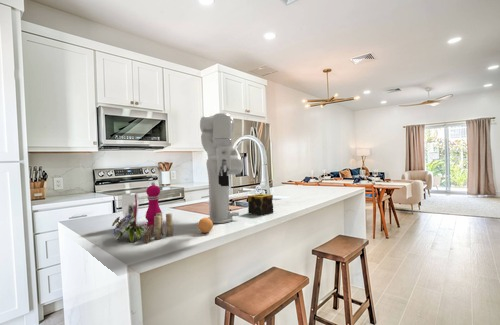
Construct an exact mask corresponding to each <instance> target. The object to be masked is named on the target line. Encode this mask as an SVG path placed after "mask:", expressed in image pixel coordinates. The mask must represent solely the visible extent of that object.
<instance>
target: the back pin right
mask: <svg viewBox="0 0 500 325" xmlns="http://www.w3.org/2000/svg"><path fill="white" fill-rule="evenodd" d="M156 216H161V236H162V235H163V234H164V230H163V227H164V226H163V224H164V223H163V212H162V213H156Z"/></svg>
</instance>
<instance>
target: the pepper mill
mask: <svg viewBox="0 0 500 325" xmlns="http://www.w3.org/2000/svg"><path fill="white" fill-rule="evenodd" d="M160 193H161V189H160V186H158V185H156V182H154V181H152V182H151V183H150V185H149V186H147V188H146V194H147V200H148V208H147V209H146V212H145V220H146V224H147V228H148V227H149V226H150V225H154V216H156V213H162V214H163V212H162V210H161V208H160V204H159V200H160Z"/></svg>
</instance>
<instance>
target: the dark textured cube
mask: <svg viewBox="0 0 500 325" xmlns="http://www.w3.org/2000/svg"><path fill="white" fill-rule="evenodd" d="M273 197H274V195H273V194H267V193H266V194H265V193H257V194H256V193H255V194H250V195H248V196H247V203H248V205H247V206H248V209H247V211H248V214H249V213H252V214H251V215H254V214H257V216H261V215H263V216H265V215H264V214H267V215H269V214H268V213H270V214H273V213H272V212H274V203H273Z"/></svg>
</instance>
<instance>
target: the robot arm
mask: <svg viewBox="0 0 500 325" xmlns="http://www.w3.org/2000/svg"><path fill="white" fill-rule="evenodd" d="M199 128H200V129H199V130H200V131H201V135H200V142H201V145H202V148H203V150H204V151H205V152H206V154H207V159H206V169H207V171H206V172H207V177H208V179H207V180H208V198H209V199H208V203H209V204H208V207H209V208H208V209H209V214H208V215H209V216H208V217H207V218H209V219H210V220H211V221H212V223H213V224H226V223H230V222H232V221H233V217H239V215H240V212H239V211H231V210H230V192H229V188H230V187H229V185H230V183H229V182H230V181H229V180H230V178H229V177H230V176H233V175H240V174H241V173H242V171H243V169H244V165H243V164H244V163H243V159H242V157H241V155H240V152H239V151H238V149H237V148H235V147H233V146H232V144H233V143H232V140H233V136H234V135H233V134H234V128H235V121H234V118H233V117H232V116H231V115H230V114H229V113H225V112H223V113H222V112H220V113H215V114H213V115H208V116H207V115H206V116H201V117H200V120H199Z"/></svg>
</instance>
